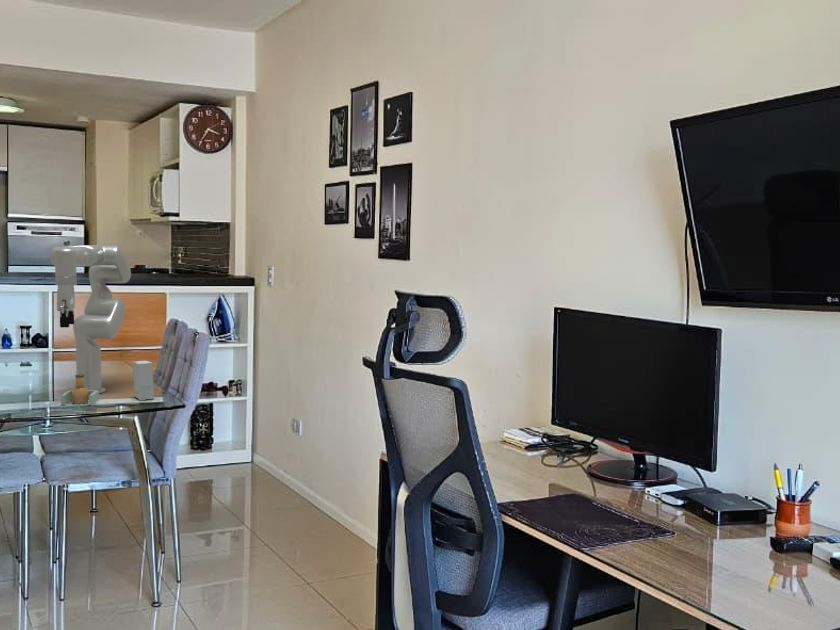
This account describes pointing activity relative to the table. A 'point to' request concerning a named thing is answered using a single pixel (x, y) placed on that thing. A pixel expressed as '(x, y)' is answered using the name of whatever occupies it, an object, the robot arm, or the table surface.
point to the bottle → (80, 391)
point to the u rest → (67, 397)
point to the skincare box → (143, 380)
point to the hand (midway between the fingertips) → (67, 325)
